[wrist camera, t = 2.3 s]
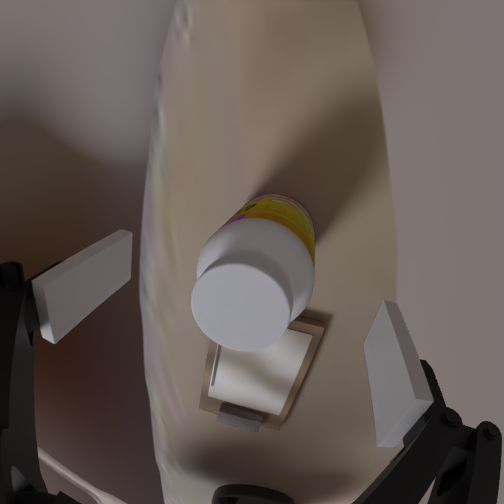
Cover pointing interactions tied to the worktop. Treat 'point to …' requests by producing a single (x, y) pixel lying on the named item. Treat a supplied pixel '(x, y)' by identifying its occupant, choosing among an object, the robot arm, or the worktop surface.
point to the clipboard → (259, 377)
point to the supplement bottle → (255, 274)
